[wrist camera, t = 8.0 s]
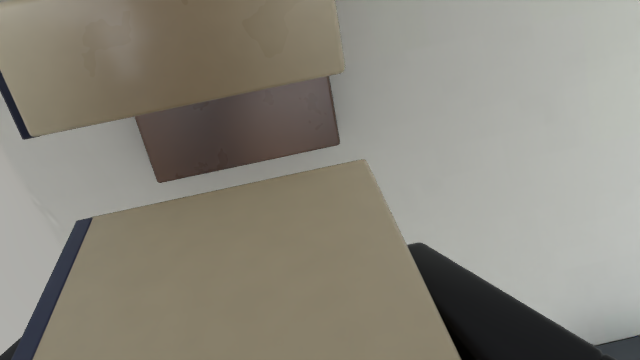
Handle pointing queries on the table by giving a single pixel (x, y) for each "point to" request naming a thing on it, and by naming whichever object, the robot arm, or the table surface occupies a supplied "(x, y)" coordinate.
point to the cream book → (242, 279)
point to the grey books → (622, 349)
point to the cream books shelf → (177, 75)
